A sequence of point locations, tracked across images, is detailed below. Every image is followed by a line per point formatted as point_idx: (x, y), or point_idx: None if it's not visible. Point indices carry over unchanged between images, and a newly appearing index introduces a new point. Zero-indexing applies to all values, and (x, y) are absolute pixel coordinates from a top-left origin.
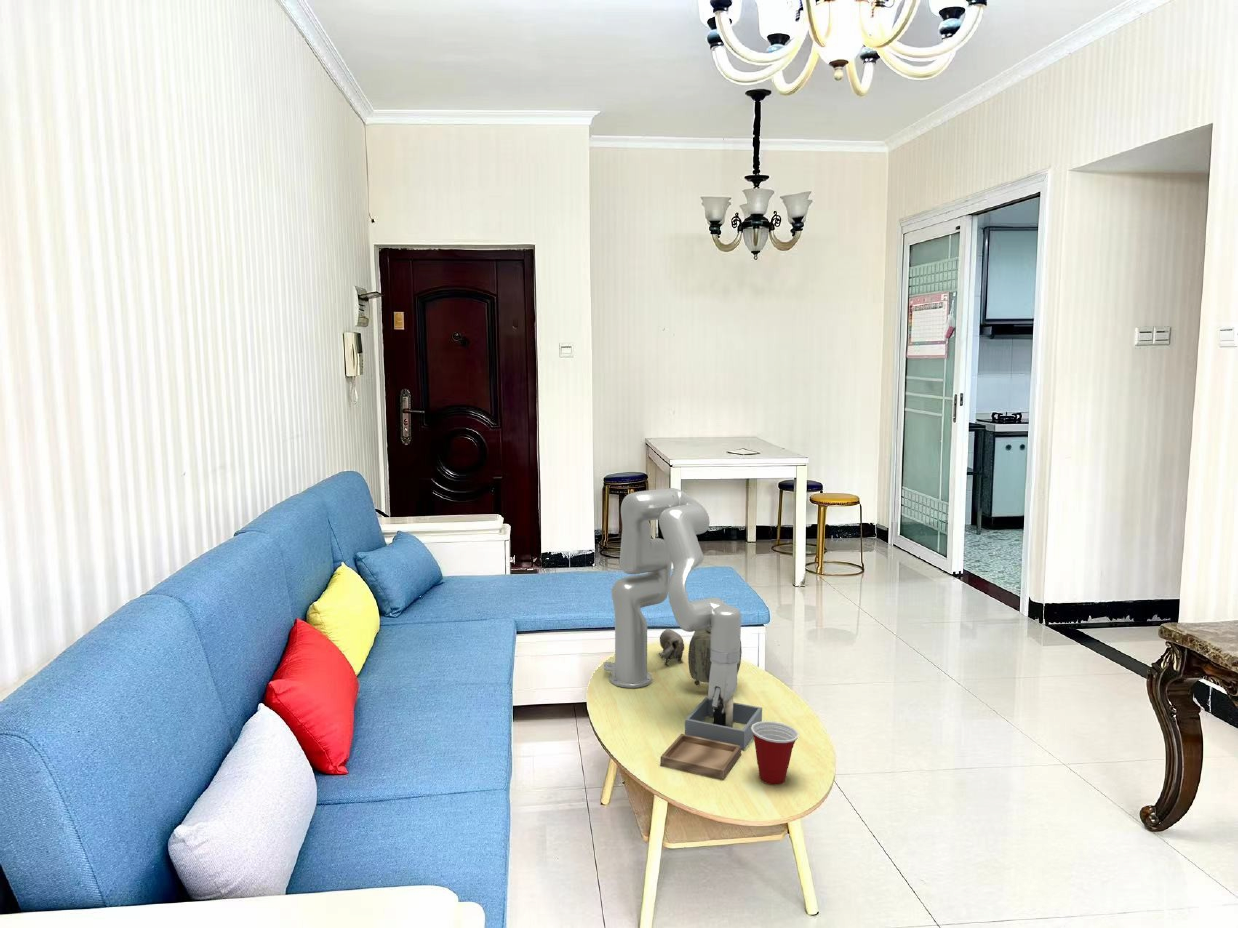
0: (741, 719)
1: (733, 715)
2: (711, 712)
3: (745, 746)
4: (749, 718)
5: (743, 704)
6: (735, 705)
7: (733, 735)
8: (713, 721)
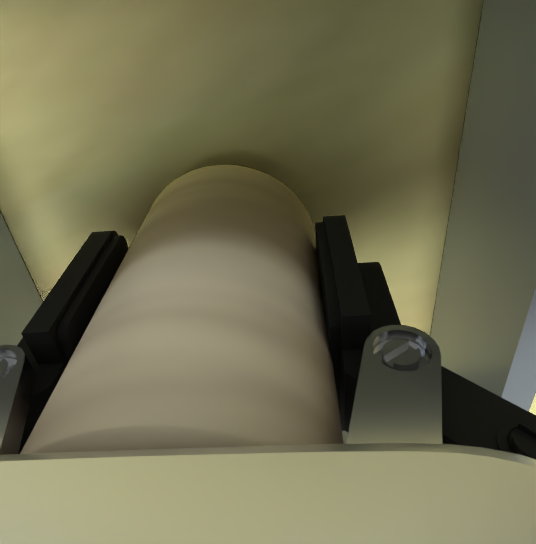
0: (448, 305)
1: (465, 260)
2: (507, 11)
3: None
4: (446, 367)
5: (522, 408)
6: (505, 342)
7: None
8: (80, 255)
